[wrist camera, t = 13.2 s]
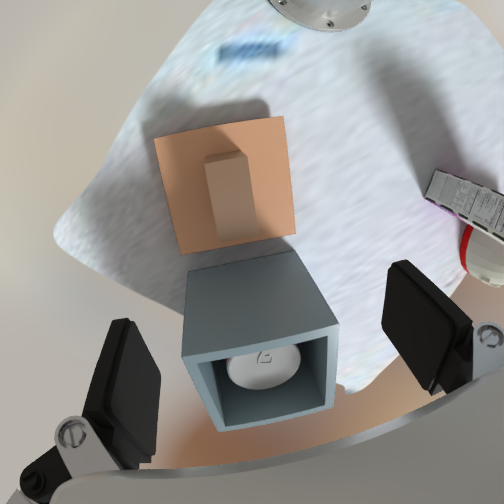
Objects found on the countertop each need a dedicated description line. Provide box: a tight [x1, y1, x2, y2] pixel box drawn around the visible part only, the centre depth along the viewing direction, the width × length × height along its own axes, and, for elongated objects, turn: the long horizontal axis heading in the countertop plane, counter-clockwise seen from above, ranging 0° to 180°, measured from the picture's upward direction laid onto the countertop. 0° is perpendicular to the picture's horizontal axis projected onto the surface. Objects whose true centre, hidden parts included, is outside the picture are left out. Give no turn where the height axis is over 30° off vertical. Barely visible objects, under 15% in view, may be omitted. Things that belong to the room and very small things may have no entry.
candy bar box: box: [424, 169, 504, 245], centre depth 28 cm, size 11×5×16 cm, turn 71°
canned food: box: [226, 344, 301, 390], centre depth 33 cm, size 8×8×11 cm
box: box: [181, 250, 339, 432], centre depth 32 cm, size 13×13×14 cm
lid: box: [154, 116, 296, 255], centre depth 28 cm, size 13×13×8 cm
